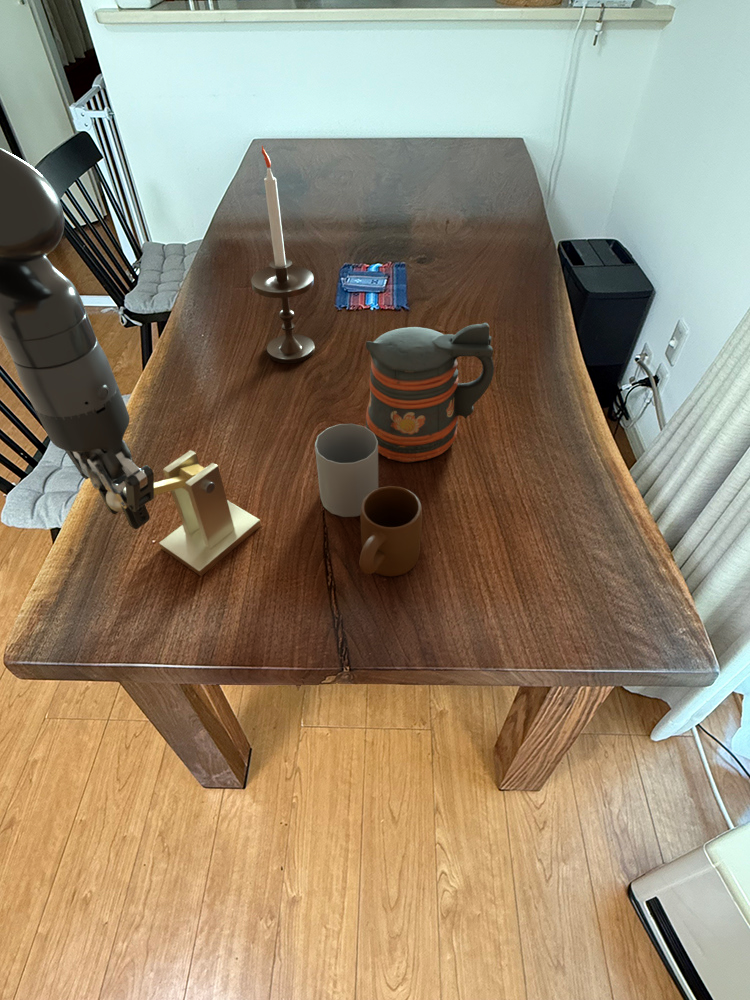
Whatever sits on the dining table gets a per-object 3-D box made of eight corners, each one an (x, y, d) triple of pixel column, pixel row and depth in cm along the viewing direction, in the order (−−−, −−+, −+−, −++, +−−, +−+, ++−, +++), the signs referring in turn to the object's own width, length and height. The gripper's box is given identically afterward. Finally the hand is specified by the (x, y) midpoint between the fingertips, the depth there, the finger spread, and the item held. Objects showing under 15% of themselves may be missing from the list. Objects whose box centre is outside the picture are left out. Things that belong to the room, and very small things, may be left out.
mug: (393, 613, 72) (394, 565, 66) (337, 593, 75) (332, 544, 68) (427, 544, 80) (431, 494, 73) (375, 527, 82) (375, 478, 76)
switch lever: (117, 520, 64) (118, 494, 63) (99, 507, 66) (100, 482, 64) (210, 492, 75) (213, 469, 73) (192, 481, 76) (195, 459, 75)
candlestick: (251, 356, 114) (214, 150, 89) (285, 331, 120) (259, 132, 95) (297, 372, 110) (273, 161, 85) (330, 345, 116) (316, 142, 91)
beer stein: (477, 406, 102) (493, 295, 88) (487, 464, 91) (507, 348, 77) (366, 406, 102) (363, 295, 88) (364, 463, 92) (361, 348, 77)
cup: (328, 473, 90) (323, 420, 83) (381, 479, 89) (381, 426, 82) (315, 513, 84) (308, 460, 77) (372, 520, 83) (371, 467, 76)
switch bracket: (201, 576, 77) (176, 507, 68) (160, 548, 80) (132, 479, 71) (261, 525, 83) (246, 455, 74) (221, 501, 86) (202, 432, 77)
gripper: (-5, 383, 56) (65, 509, 69) (83, 439, 50) (143, 566, 63) (65, 348, 61) (119, 473, 73) (155, 396, 55) (197, 523, 67)
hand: (130, 515), depth 68 cm, fingers closed on switch lever, 3 cm apart
